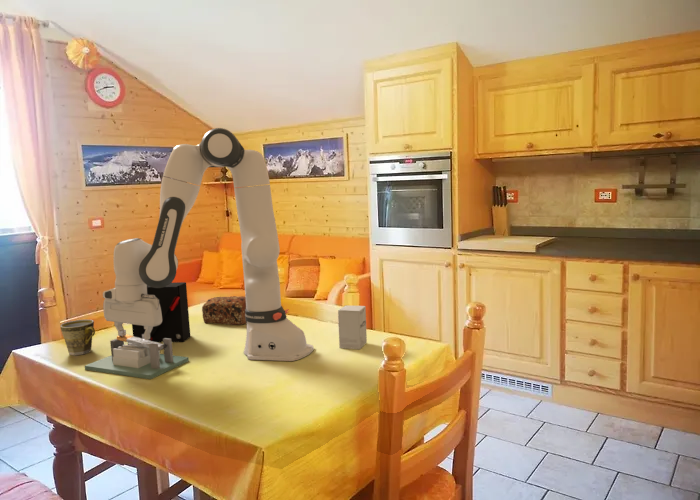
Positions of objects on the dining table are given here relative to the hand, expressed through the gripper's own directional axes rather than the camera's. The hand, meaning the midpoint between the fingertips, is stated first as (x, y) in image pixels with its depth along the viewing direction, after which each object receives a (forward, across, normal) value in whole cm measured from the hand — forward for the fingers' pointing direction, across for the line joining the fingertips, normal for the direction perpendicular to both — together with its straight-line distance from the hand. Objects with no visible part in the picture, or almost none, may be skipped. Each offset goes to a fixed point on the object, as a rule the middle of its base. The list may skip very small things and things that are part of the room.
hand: (134, 337), depth 163 cm
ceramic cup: (+10, +28, -5) cm, 30 cm away
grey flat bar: (+2, -2, 0) cm, 3 cm away
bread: (+8, +4, -53) cm, 53 cm away
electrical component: (+9, +12, -25) cm, 29 cm away
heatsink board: (+9, 0, -1) cm, 9 cm away
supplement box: (+7, -56, -38) cm, 68 cm away
